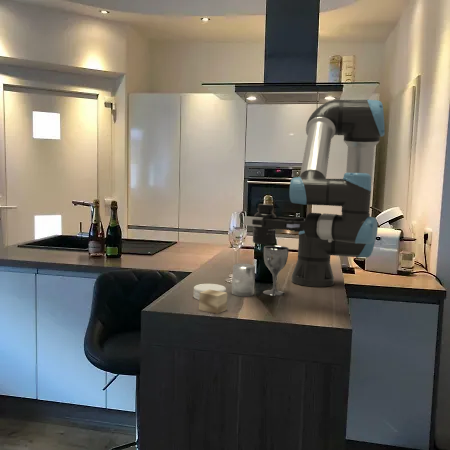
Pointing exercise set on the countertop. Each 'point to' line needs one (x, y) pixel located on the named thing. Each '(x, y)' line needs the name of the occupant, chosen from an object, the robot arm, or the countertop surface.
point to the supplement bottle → (264, 234)
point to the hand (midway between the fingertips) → (250, 220)
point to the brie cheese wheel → (205, 287)
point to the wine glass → (275, 264)
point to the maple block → (213, 301)
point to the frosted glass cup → (243, 280)
